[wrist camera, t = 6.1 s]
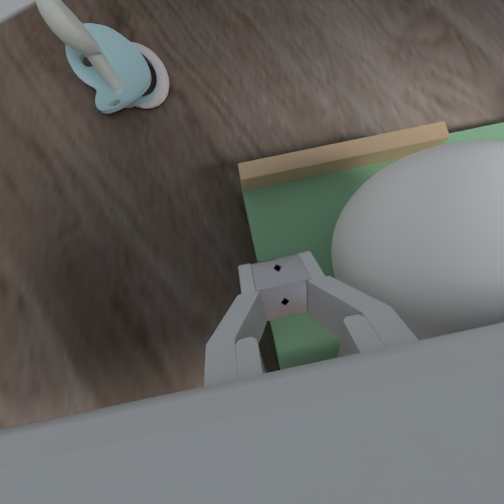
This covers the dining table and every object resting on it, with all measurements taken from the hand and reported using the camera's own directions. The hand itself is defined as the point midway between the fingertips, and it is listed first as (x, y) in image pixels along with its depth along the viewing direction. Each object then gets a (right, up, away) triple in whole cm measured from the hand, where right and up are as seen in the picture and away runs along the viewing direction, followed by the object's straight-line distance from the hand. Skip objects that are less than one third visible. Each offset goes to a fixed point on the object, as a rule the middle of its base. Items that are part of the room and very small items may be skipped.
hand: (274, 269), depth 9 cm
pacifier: (-10, +14, +8) cm, 19 cm away
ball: (+7, +1, -1) cm, 7 cm away
